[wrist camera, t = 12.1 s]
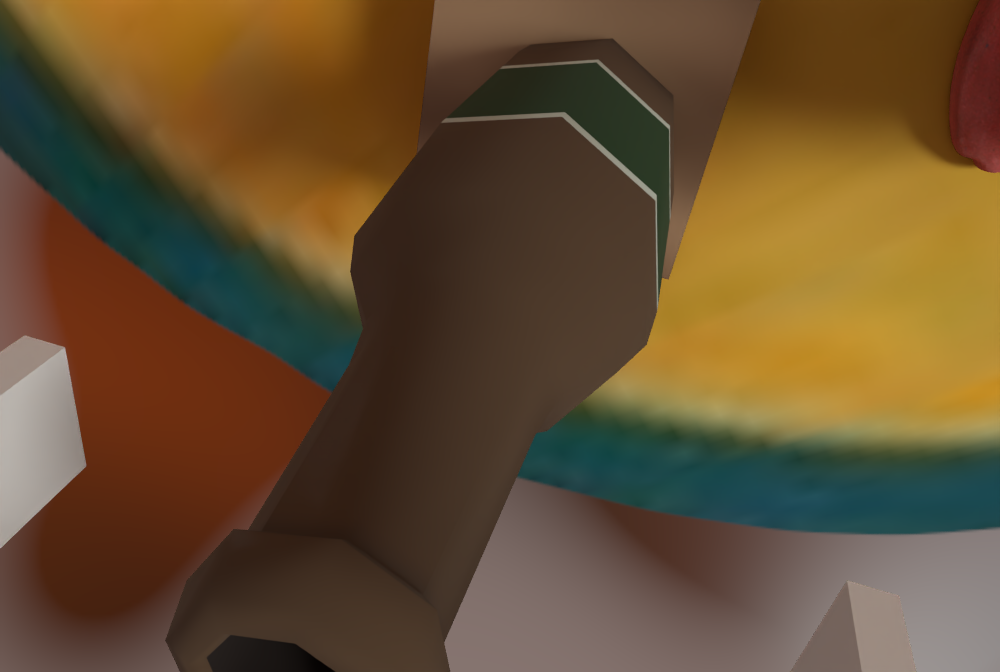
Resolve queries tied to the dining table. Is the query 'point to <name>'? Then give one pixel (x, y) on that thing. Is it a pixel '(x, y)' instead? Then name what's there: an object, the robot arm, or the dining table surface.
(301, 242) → the dining table surface
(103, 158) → the dining table surface
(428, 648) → the beer bottle
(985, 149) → the stacking bear
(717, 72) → the walnut base brick
